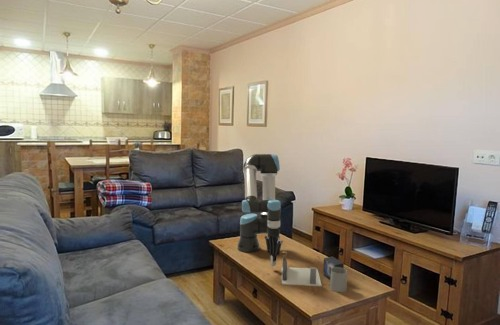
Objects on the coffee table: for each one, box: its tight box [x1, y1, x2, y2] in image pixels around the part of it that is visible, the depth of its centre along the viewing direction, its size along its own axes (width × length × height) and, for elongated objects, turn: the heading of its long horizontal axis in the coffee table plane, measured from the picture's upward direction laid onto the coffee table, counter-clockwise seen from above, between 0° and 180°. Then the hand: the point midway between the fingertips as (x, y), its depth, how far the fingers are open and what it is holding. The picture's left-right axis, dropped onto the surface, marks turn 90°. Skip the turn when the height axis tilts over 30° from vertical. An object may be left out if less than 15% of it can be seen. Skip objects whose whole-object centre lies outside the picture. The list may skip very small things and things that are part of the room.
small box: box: [323, 256, 345, 281], centre depth 196 cm, size 11×6×10 cm, turn 23°
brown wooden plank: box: [281, 251, 288, 262], centre depth 203 cm, size 2×16×9 cm, turn 175°
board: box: [281, 266, 322, 287], centre depth 199 cm, size 21×21×1 cm
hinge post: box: [281, 260, 288, 281], centre depth 193 cm, size 2×2×11 cm
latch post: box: [309, 266, 317, 284], centre depth 189 cm, size 2×3×9 cm
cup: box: [329, 267, 348, 293], centre depth 185 cm, size 8×8×10 cm
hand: (273, 265), depth 207 cm, fingers closed
